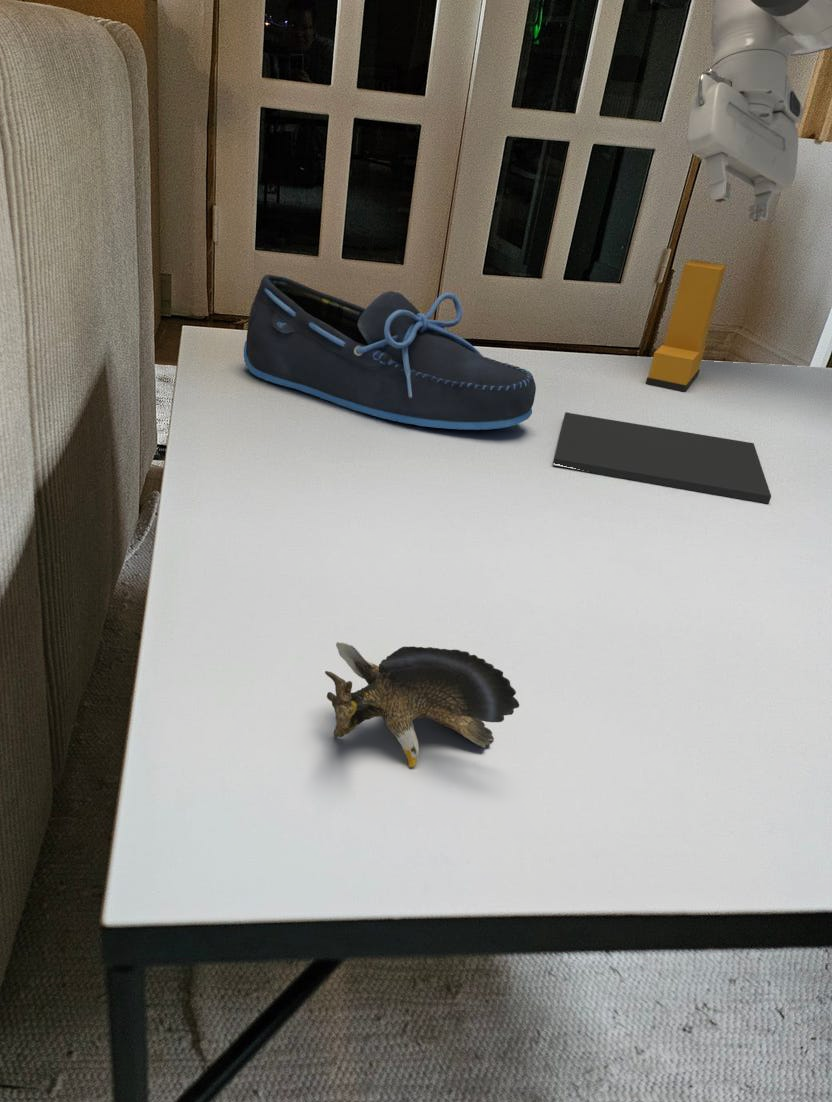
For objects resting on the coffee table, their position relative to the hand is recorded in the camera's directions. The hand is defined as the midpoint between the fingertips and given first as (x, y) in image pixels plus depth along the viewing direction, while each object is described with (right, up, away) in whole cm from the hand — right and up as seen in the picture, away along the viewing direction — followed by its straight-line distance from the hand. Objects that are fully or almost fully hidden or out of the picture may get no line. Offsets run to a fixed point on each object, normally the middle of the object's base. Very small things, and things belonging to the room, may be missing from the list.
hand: (739, 210), depth 116 cm
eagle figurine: (-45, -59, -65) cm, 99 cm away
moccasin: (-45, -27, -12) cm, 54 cm away
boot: (-6, -19, +7) cm, 21 cm away
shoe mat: (-17, -35, -21) cm, 44 cm away
